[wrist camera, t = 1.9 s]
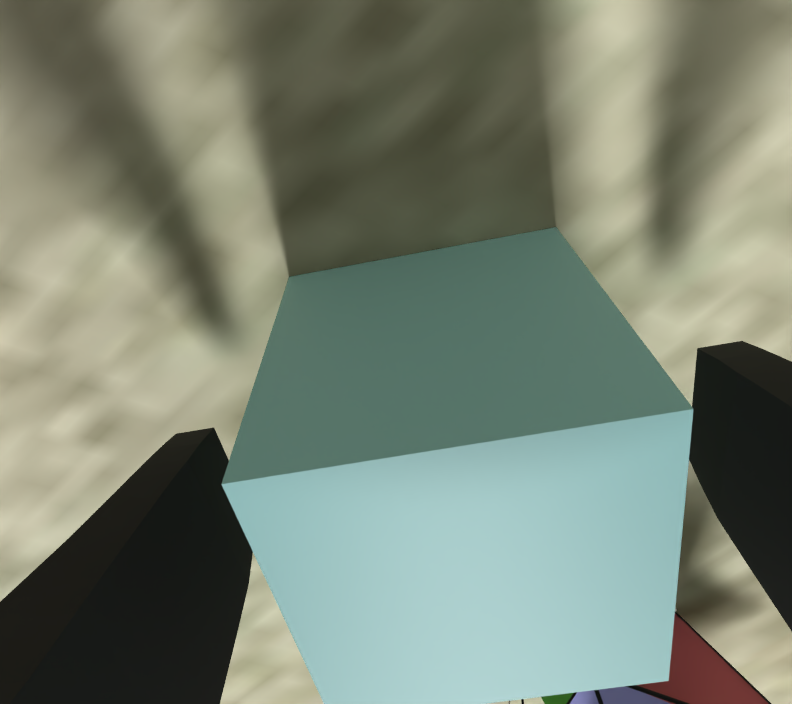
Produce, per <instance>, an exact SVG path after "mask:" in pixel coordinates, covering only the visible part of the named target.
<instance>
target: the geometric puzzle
mask: <svg viewBox="0 0 792 704" xmlns="http://www.w3.org/2000/svg"><path fill="white" fill-rule="evenodd" d="M541 698H542V699H543V701H544V703H545V704H771V703H770V702H769V701H768V700H767V699H766V698H765V697H764V696H763V695H762V694H761V693H760V692H759V691H758V690H757V689H756V688H755V687H754V686H752V685H751V684H750V683H749V682H748V681H747V680H746V679H745V678H744V677H743V676H742V675H741V674H740V673H739V672H738V671H737V670H736V669H735V668H734V667H733V666H732V665H731V664H730V663H729V662H727V661H726V660H725V659H724V658H723V657H722V656H721V655H720V654H719V653H718V652H717V651H716V650H715V649H714V648H713V647H712V646H711V645H710V644H709V643H708V642H707V641H706V640H705V639H704V638H702V637H701V636H700V635H699V634H698V633H697V632H696V631H695V630H694V629H693V628H692V627H691V626H690V625H689V624H688V623H687V622H686V621H685V620H684V619H683V618H682V617H681V616H680V615H679V614H677V613H676V608H675V616H674V627H673V638H672V649H671V660H670V671H669V681H664V682H656V683H648V684H640V685H632V686H624V687H616V688H608V689H599V690H591V691H583V692H575V693H567V694H559V695H551V696H543V697H541ZM521 701H522V704H524V699H521ZM509 703H510V701H509Z"/></svg>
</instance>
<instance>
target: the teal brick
mask: <svg viewBox="0 0 792 704" xmlns="http://www.w3.org/2000/svg"><path fill="white" fill-rule="evenodd" d="M692 420H693V408H692V406H691V405H690V404H689V402H688V401H687V400H686V398H685V397H684V396H683V394H682V393H681V392H680V390H679V389H678V388H677V386H676V385H675V384H674V383H673V381H672V380H671V379H670V377H669V376H668V375H667V373H666V372H665V371H664V369H663V368H662V367H661V365H660V364H659V363H658V361H657V360H656V359H655V357H654V356H653V355H652V353H651V352H650V351H649V349H648V348H647V347H646V345H645V344H644V343H643V341H642V340H641V339H640V337H639V336H638V335H637V334H636V332H635V331H634V330H633V328H632V327H631V326H630V324H629V323H628V322H627V320H626V319H625V318H624V316H623V315H622V314H621V312H620V311H619V310H618V308H617V307H616V306H615V304H614V303H613V302H612V300H611V299H610V298H609V296H608V295H607V294H606V292H605V291H604V290H603V288H602V287H601V286H600V285H599V283H598V282H597V281H596V279H595V278H594V277H593V275H592V274H591V273H590V271H589V270H588V269H587V267H586V266H585V265H584V263H583V262H582V261H581V259H580V258H579V257H578V255H577V254H576V253H575V251H574V250H573V249H572V247H571V246H570V245H569V243H568V242H567V241H566V239H565V238H564V237H563V236H562V234H561V233H560V232H559V230H558V229H557V228H556V227H554V228H549V229H544V230H538V231H533V232H527V233H522V234H517V235H511V236H506V237H501V238H495V239H490V240H484V241H479V242H474V243H468V244H463V245H458V246H452V247H447V248H441V249H436V250H431V251H425V252H420V253H415V254H409V255H404V256H398V257H393V258H388V259H382V260H377V261H372V262H366V263H361V264H355V265H350V266H345V267H339V268H334V269H329V270H323V271H318V272H313V273H307V274H302V275H296V276H291V277H289V279H288V282H287V285H286V288H285V291H284V294H283V298H282V301H281V304H280V307H279V310H278V313H277V316H276V319H275V322H274V325H273V328H272V331H271V334H270V337H269V340H268V343H267V346H266V349H265V353H264V356H263V359H262V362H261V365H260V368H259V371H258V374H257V377H256V380H255V383H254V386H253V389H252V392H251V395H250V398H249V401H248V404H247V408H246V411H245V414H244V417H243V420H242V423H241V426H240V429H239V432H238V435H237V438H236V441H235V444H234V447H233V450H232V453H231V456H230V459H229V462H228V466H227V469H226V472H225V475H224V478H223V481H222V487H223V489H224V491H225V493H226V495H227V497H228V499H229V502H230V504H231V506H232V508H233V510H234V512H235V514H236V517H237V519H238V521H239V523H240V525H241V527H242V529H243V532H244V534H245V536H246V538H247V540H248V542H249V544H250V546H251V549H252V551H253V553H254V555H255V557H256V559H257V561H258V564H259V566H260V568H261V570H262V572H263V574H264V576H265V579H266V581H267V583H268V585H269V587H270V589H271V591H272V594H273V596H274V598H275V600H276V602H277V604H278V606H279V608H280V611H281V613H282V615H283V617H284V619H285V621H286V623H287V626H288V628H289V630H290V632H291V634H292V636H293V638H294V641H295V643H296V645H297V647H298V649H299V651H300V653H301V655H302V658H303V660H304V662H305V664H306V666H307V668H308V670H309V673H310V675H311V677H312V679H313V681H314V683H315V685H316V688H317V690H318V692H319V694H320V696H321V698H322V700H323V703H324V704H487V703H495V702H503V701H511V700H519V699H527V698H535V697H543V696H551V695H559V694H567V693H575V692H583V691H591V690H599V689H608V688H616V687H624V686H632V685H640V684H648V683H656V682H664V681H669V671H670V660H671V649H672V638H673V627H674V616H675V605H676V594H677V584H678V573H679V562H680V551H681V540H682V529H683V518H684V507H685V496H686V486H687V475H688V464H689V453H690V442H691V431H692Z"/></svg>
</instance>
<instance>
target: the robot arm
mask: <svg viewBox="0 0 792 704" xmlns="http://www.w3.org/2000/svg"><path fill="white" fill-rule="evenodd" d="M692 408H693V420H692V431H691V442H690V453H689V460H690V462H691V464H692V467H693V469H694V471H695V473H696V475H697V477H698V479H699V482H700V484H701V486H702V488H703V490H704V492H705V494H706V496H707V498H708V500H709V502H710V504H711V506H712V508H713V510H714V512H715V514H716V516H717V518H718V519H719V521H720V523H721V524H722V526H723V527H724V529H725V530H726V532H727V534H728V535H729V537H730V538H731V540H732V541H733V543H734V544H735V546H736V547H737V549H738V550H739V552H740V554H741V555H742V557H743V558H744V560H745V561H746V563H747V564H748V566H749V567H750V569H751V570H752V572H753V573H754V575H755V576H756V578H757V579H758V581H759V582H760V584H761V585H762V587H763V589H764V590H765V592H766V593H767V595H768V596H769V598H770V599H771V601H772V602H773V604H774V605H775V607H776V608H777V610H778V611H779V613H780V614H781V616H782V617H783V619H784V620H785V622H786V623H787V625H788V626H789V628H790V629H791V631H792V362H791V361H789V360H786V359H784V358H782V357H780V356H777V355H775V354H773V353H771V352H768V351H766V350H763V349H761V348H759V347H756V346H753V345H751V344H748V343H746V342H743V341H739V342H733V343H727V344H721V345H715V346H709V347H703V348H698V349H697V360H696V371H695V381H694V392H693V403H692ZM228 462H229V460H228V458H227V456H226V454H225V451H224V449H223V447H222V445H221V442H220V440H219V438H218V436H217V433H216V431H215V429H214V428H209V429H203V430H197V431H190V432H184V433H178V434H175V435H174V436H173V437H172V438H171V439H170V440H168V441H167V442H166V443H165V444H164V445H163V446H162V447H161V448H160V449H159V450H157V451H156V452H155V453H154V454H153V455H152V456H151V457H150V458H149V459H148V460H147V461H146V462H145V463H144V464H143V465H142V466H141V467H140V468H139V469H138V470H137V471H136V472H135V473H134V474H133V475H132V476H131V477H130V478H129V479H128V480H127V481H126V482H125V483H124V484H123V485H122V486H121V487H120V488H119V489H118V490H117V491H116V492H115V493H114V494H113V495H112V496H111V497H110V498H109V499H108V500H107V501H106V502H105V503H104V504H103V505H102V506H101V507H100V508H99V509H98V510H97V511H96V512H95V513H94V514H93V515H92V516H91V517H90V518H89V519H88V520H87V521H86V522H85V523H84V524H83V525H82V526H81V527H80V528H79V529H78V530H77V531H76V532H75V533H74V534H73V535H72V536H71V537H70V538H69V539H67V540H66V541H65V542H64V543H63V544H62V545H61V546H60V547H59V548H58V549H57V550H56V551H55V552H54V553H53V554H51V555H50V556H49V557H48V558H47V559H46V560H45V561H44V562H43V563H42V564H41V565H40V566H38V567H37V568H36V569H35V570H34V571H33V572H32V573H31V574H30V575H29V576H28V577H27V578H26V579H24V580H23V581H22V582H21V583H20V584H19V585H18V586H17V587H16V588H15V589H14V590H13V591H12V592H10V593H9V594H8V595H7V596H6V597H5V598H4V599H3V600H2V601H1V602H0V704H220V700H221V696H222V692H223V688H224V684H225V680H226V676H227V672H228V668H229V664H230V660H231V656H232V652H233V647H234V643H235V639H236V635H237V631H238V627H239V623H240V619H241V614H242V610H243V606H244V602H245V597H246V593H247V589H248V584H249V577H250V569H251V561H252V553H253V551H252V549H251V546H250V544H249V542H248V540H247V538H246V536H245V534H244V532H243V529H242V527H241V525H240V523H239V521H238V519H237V517H236V514H235V512H234V510H233V508H232V506H231V504H230V502H229V499H228V497H227V495H226V493H225V491H224V489H223V487H222V481H223V478H224V475H225V472H226V469H227V466H228Z"/></svg>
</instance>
